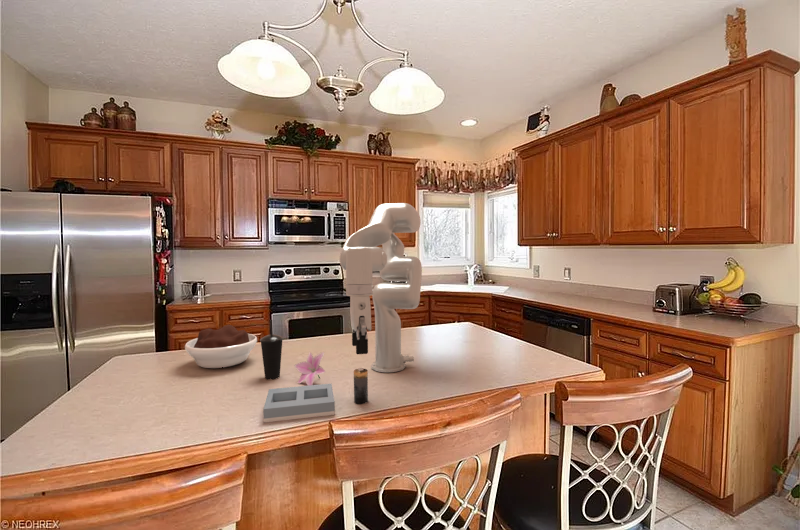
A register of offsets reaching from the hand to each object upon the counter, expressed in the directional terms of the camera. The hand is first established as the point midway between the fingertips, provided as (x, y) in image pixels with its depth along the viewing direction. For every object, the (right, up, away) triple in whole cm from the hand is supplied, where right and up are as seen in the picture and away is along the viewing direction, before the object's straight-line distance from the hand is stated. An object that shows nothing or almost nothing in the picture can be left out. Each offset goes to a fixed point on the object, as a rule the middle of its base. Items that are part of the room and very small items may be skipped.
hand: (359, 349), depth 108 cm
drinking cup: (-33, -15, +22) cm, 42 cm away
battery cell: (0, -15, +1) cm, 15 cm away
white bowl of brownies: (-57, -14, +37) cm, 69 cm away
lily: (-18, -15, +17) cm, 29 cm away
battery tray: (-16, -16, -3) cm, 23 cm away
